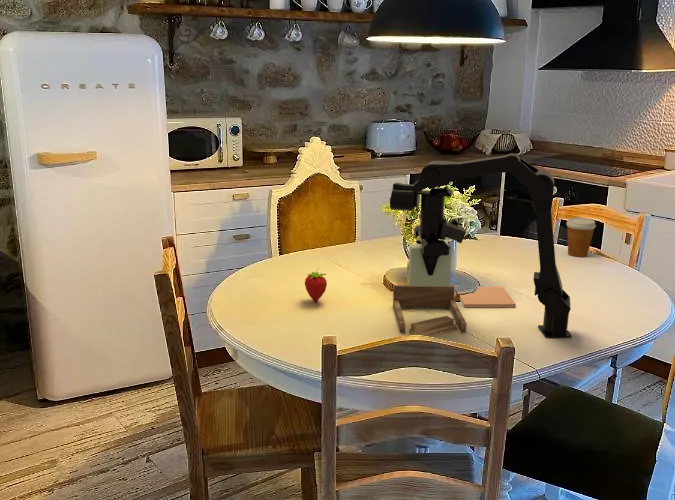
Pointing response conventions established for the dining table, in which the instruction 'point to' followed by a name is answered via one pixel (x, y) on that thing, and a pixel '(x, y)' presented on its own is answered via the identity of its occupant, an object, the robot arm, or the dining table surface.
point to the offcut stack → (433, 326)
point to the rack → (425, 302)
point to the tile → (488, 298)
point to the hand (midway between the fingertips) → (429, 272)
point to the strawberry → (315, 285)
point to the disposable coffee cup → (579, 236)
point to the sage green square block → (419, 272)
